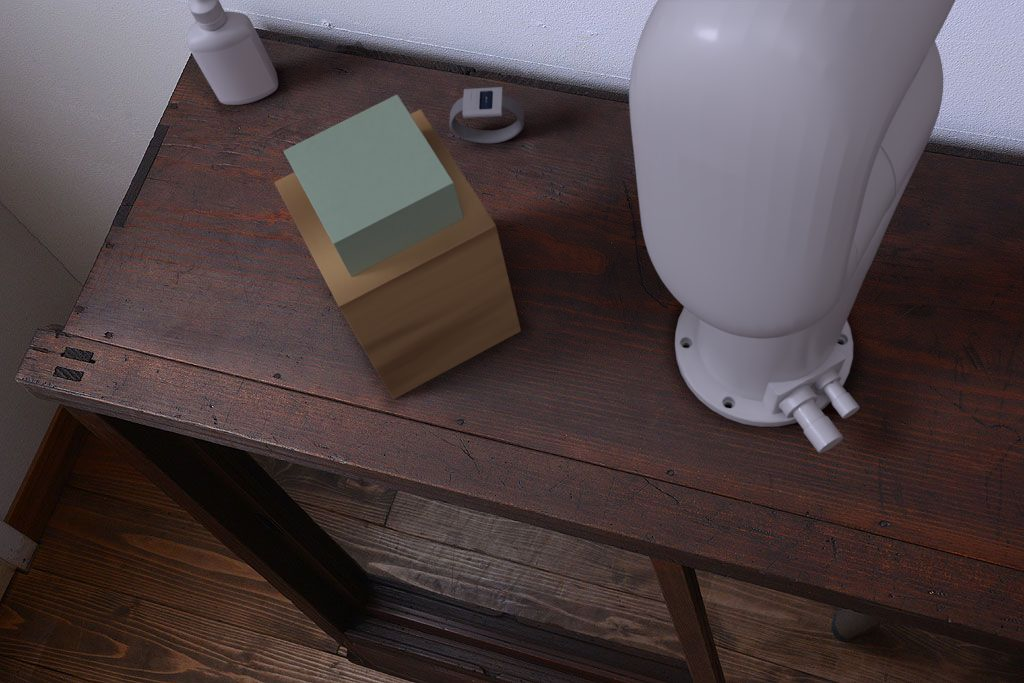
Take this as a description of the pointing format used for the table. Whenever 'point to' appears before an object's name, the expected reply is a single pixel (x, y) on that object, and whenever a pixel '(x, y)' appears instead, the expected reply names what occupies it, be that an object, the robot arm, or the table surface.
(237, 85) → the eye dropper bottle
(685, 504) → the table surface
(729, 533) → the table surface
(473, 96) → the wristwatch
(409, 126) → the block
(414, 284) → the stand
